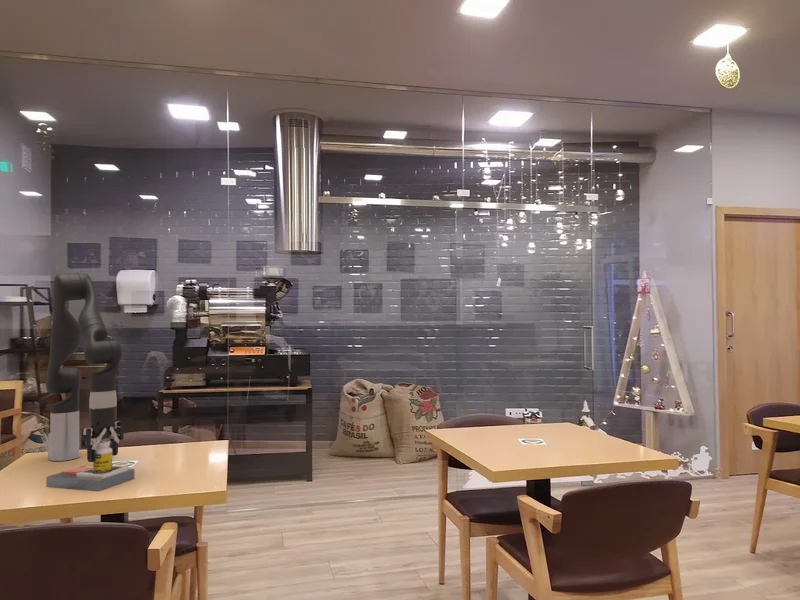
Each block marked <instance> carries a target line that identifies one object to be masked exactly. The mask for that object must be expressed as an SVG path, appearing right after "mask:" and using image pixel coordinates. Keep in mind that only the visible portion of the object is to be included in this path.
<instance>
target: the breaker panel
mask: <svg viewBox="0 0 800 600" xmlns="http://www.w3.org/2000/svg"><path fill="white" fill-rule="evenodd" d="M79 467H80V468H90V469H87V470H84V471H81V472H78V473H77V475H76V474H64V471H62V472H57V473H54V474H51V475H48V476H46V479H45V481H46V483H45V484H46V486H45V487H46V488H58V489H59V488H60V489H68V490H69V489H70V490H71V489H72V490H82V491H92V492H93V491H94V492H100V491H103V490H106V489H109V488H112V487H115V486H118V485H121V484H123V483H126V482H128V481H131V480H134V479H135V468H129V466H124V465H113V464H112V471H110V472H107V473H104V474H100V473H93V471H92V469H93V465H82V466H79Z"/></svg>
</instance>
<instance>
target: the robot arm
mask: <svg viewBox="0 0 800 600" xmlns="http://www.w3.org/2000/svg"><path fill="white" fill-rule="evenodd" d="M52 286H53V288H52V293H53V294H52V295H53V296H52V299H53V300H52V303H53V304H52V305H53V308H52V309H53V311H52V320H51V321H52V322H51V330H50V338H49V339H50V340H49V343H50V344H49V345H50V347H49V358H48V359H49V360H48V365H47V372H46V378H45V388H46V392H48V394H52V395H57V394H58V395H59V394H68V396H67V397H66V398H64V399H62V400H61V401H58V402H55V403H53V404H51V405H50V420H49V421H50V430H49V431H50V432H49V433H47V434H48V435H47V436H48V439H47V440H48V441H47V445H48V446H47V450H48V455H47V458H48V459H47V460H50V461H51V462H61V461H62V462H63V461H70V460H71V461H72V460H74V459H77V458H79V457H80V448H81V449H85V450H86V453H87V454H86V457H87V458H86V459H87V461H88V463H93V462H95V461H96V446H97V444H98V443H99V442H100V441H102V440H104V439H105V440H106V439H107V440H109V441H110V446H109V447H110V448H112V457H113V456H117V455H118V453H119V443H120V441H123V440H125V439H124V438H125V437H124V436H125V435H124V434H125V433H124V422H123V420H117V417H118V416H117V415H118V414H117V409H118V408H117V407H118V406H117V402H118V401H117V400H118V399H117V385H116V384H117V380H116V379H117V374H118V371H119V366H120V362H121V359H122V356H123V347H122V345H121V343H120V342H119V341H117V340H107V339H108V336H109V333H108V330H107V327H106V325H105V322H104V321H103V318H102V315H101V312H100V308H99V304H98V299H97V295H96V291H95V288H94V283H93V281H92V278H91V276H90V274H88V273H87V272H70V273H69V272H68V273H65V272H63V273H58V274H56V275H55V276H54V280H53V285H52ZM80 300H82V301H83V300H84V301H85V303H84V305H83V308H82V309H81V311H80V313H79V316H78V319H76V318H75V316H74V315H72V313H71V312H70V311H69V309H68V307H67V305H66V303H67V302H68V301H80ZM81 337H82V338H83V357H84V360H85V361H86V362H87V363H89V364H90V365H102V364H103V365H104V364H106V365H105V367H104V368H103V369H102V370H99V371H95V372H92V373H91V374H90V381H89V383H90V386H89V387H90V388H89V389H90V390H89V392H90V393H89V398H88V399H89V400H88V401H89V405H88V407H89V412H88V415H89V416H88V417H89V419H88V421H89V422H90V424H91V425H90V427H82V429H81V435H80V389H81V388H80V387H81V372H80V369H78V368H77V367H64V368H61V367H62V365H63V364H64V363H65V362H66V361H67V360H68V359H69V358H70V357H71V356H72V355H73V354H74V353H75V352H76V351H77V350H78V348H79V347H80V344H81ZM80 439H81V440H80Z"/></svg>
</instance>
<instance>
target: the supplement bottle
mask: <svg viewBox="0 0 800 600" xmlns="http://www.w3.org/2000/svg"><path fill="white" fill-rule="evenodd" d="M110 443H111V442H110V441H109V439H105V440H104V439H102V440H100V442H99V443H98V444H97V446H96V447H95V449H96V461H95V462H92V466H93V469H92V471H93V473H100V474H104V473H107V472H110V471H112V465H113V456H112V448H110Z"/></svg>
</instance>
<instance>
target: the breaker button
mask: <svg viewBox="0 0 800 600" xmlns="http://www.w3.org/2000/svg"><path fill="white" fill-rule="evenodd" d="M80 467H81V466H77V467H74V468H71V469H68V470H64V471H63V472H64V474H76V475H77V473H78V472H81V471H84V470H87V469H90V468H80Z"/></svg>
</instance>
